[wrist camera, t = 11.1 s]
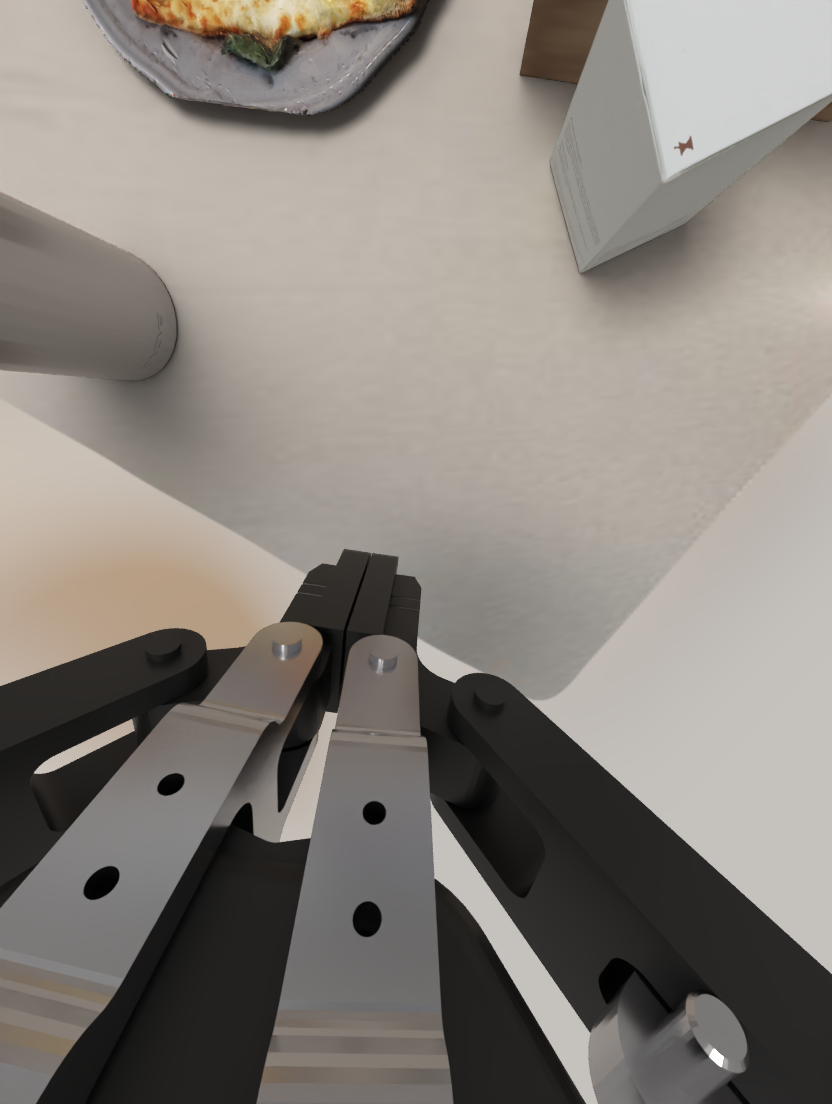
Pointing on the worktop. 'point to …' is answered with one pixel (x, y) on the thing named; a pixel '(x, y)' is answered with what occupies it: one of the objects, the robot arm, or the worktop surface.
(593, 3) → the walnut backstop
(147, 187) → the worktop surface
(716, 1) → the supplement box
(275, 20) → the food plate
